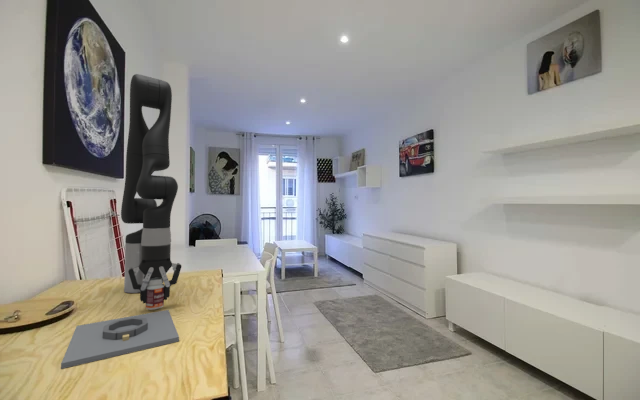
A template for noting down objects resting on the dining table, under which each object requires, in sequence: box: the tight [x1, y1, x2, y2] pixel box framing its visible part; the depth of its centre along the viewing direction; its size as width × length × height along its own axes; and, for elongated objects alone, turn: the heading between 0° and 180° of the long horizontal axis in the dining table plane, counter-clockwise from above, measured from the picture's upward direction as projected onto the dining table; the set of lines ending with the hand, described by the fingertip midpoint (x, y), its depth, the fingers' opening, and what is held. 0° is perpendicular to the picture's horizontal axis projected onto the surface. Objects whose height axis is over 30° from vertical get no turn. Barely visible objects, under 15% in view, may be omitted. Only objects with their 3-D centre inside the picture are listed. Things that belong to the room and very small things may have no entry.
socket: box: [60, 309, 180, 369], centre depth 67 cm, size 20×20×2 cm
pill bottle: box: [145, 277, 165, 311], centre depth 84 cm, size 5×5×8 cm
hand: (154, 300), depth 84 cm, fingers closed on pill bottle, 4 cm apart
